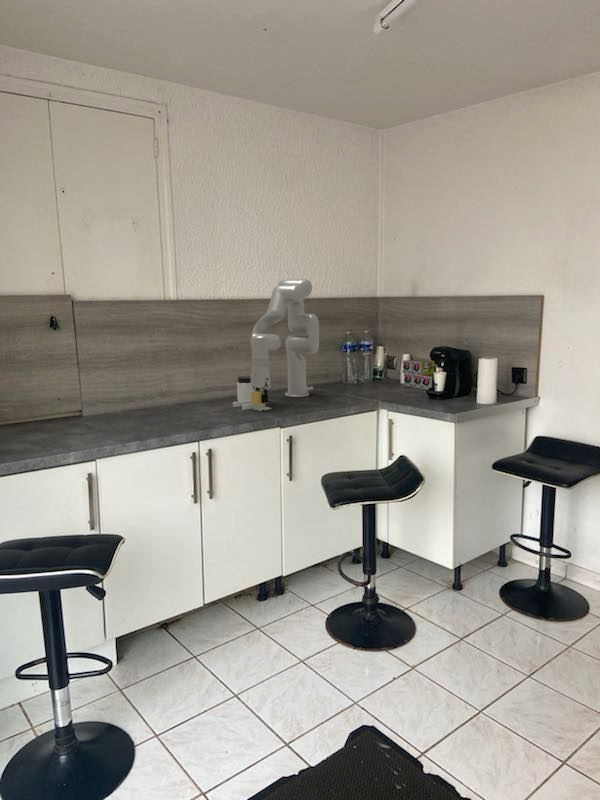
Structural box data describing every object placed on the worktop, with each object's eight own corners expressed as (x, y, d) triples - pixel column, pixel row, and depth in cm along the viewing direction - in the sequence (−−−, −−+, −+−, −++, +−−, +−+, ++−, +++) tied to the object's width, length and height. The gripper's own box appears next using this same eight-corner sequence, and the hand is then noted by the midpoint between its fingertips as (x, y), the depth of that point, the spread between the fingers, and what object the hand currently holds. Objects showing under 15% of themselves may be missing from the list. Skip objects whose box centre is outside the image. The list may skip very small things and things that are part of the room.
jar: (237, 402, 284) (237, 378, 281) (237, 399, 292) (236, 376, 289) (255, 401, 285) (255, 377, 283) (255, 398, 293) (254, 375, 291)
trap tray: (267, 402, 284) (267, 399, 284) (276, 404, 278) (276, 402, 278) (255, 403, 280) (255, 401, 279) (264, 406, 274) (264, 403, 274)
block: (259, 401, 269) (259, 390, 268) (265, 403, 265) (265, 391, 264) (250, 403, 266) (250, 391, 265) (256, 404, 262) (256, 392, 261)
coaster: (263, 407, 272) (263, 405, 272) (271, 409, 267) (271, 408, 267) (251, 408, 268) (251, 407, 268) (259, 411, 263) (259, 409, 263)
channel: (254, 403, 280) (254, 399, 280) (265, 406, 273) (264, 402, 272) (232, 406, 273) (232, 402, 273) (243, 410, 266) (243, 405, 265)
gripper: (243, 361, 268) (244, 400, 271) (264, 365, 254) (264, 405, 258) (257, 360, 272) (257, 398, 275) (277, 363, 259) (278, 403, 262)
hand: (261, 401), depth 266 cm, fingers closed on block, 5 cm apart
